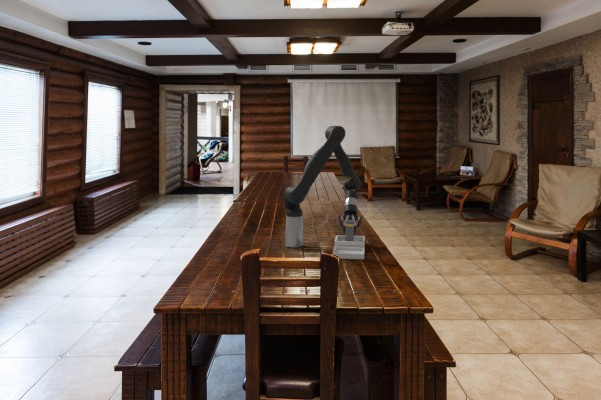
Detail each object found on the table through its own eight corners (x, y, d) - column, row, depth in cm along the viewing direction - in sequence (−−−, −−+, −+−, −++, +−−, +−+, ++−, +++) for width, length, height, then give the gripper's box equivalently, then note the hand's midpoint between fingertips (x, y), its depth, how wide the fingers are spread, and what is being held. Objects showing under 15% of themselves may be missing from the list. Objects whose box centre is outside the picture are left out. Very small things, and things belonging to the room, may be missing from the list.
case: (334, 251, 264) (334, 242, 263) (336, 244, 279) (336, 235, 278) (364, 252, 262) (364, 242, 261) (364, 244, 277) (364, 236, 276)
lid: (332, 258, 250) (332, 253, 250) (334, 251, 264) (334, 246, 263) (364, 259, 248) (364, 254, 247) (364, 252, 262) (364, 247, 261)
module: (345, 241, 268) (345, 221, 266) (345, 239, 273) (346, 219, 271) (353, 241, 267) (353, 221, 266) (353, 239, 272) (354, 219, 271)
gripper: (338, 203, 275) (336, 228, 265) (363, 203, 274) (362, 229, 264) (338, 210, 281) (336, 236, 272) (363, 211, 280) (362, 237, 270)
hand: (349, 232), depth 268 cm, fingers closed on module, 4 cm apart
